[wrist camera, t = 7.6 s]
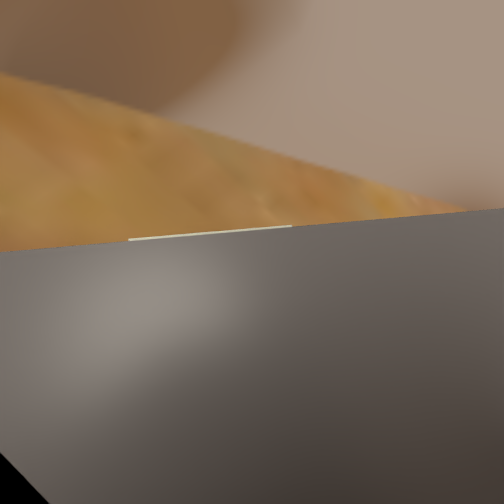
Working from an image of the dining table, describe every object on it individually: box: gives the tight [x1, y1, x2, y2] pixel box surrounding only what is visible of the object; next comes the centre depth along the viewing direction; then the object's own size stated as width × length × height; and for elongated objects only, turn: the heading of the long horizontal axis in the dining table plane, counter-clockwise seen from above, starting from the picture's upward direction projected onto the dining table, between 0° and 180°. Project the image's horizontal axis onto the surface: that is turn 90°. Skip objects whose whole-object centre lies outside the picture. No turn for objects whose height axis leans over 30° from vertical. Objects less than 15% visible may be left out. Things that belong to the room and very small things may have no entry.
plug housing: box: [0, 208, 504, 504], centre depth 8 cm, size 4×7×12 cm, turn 99°
